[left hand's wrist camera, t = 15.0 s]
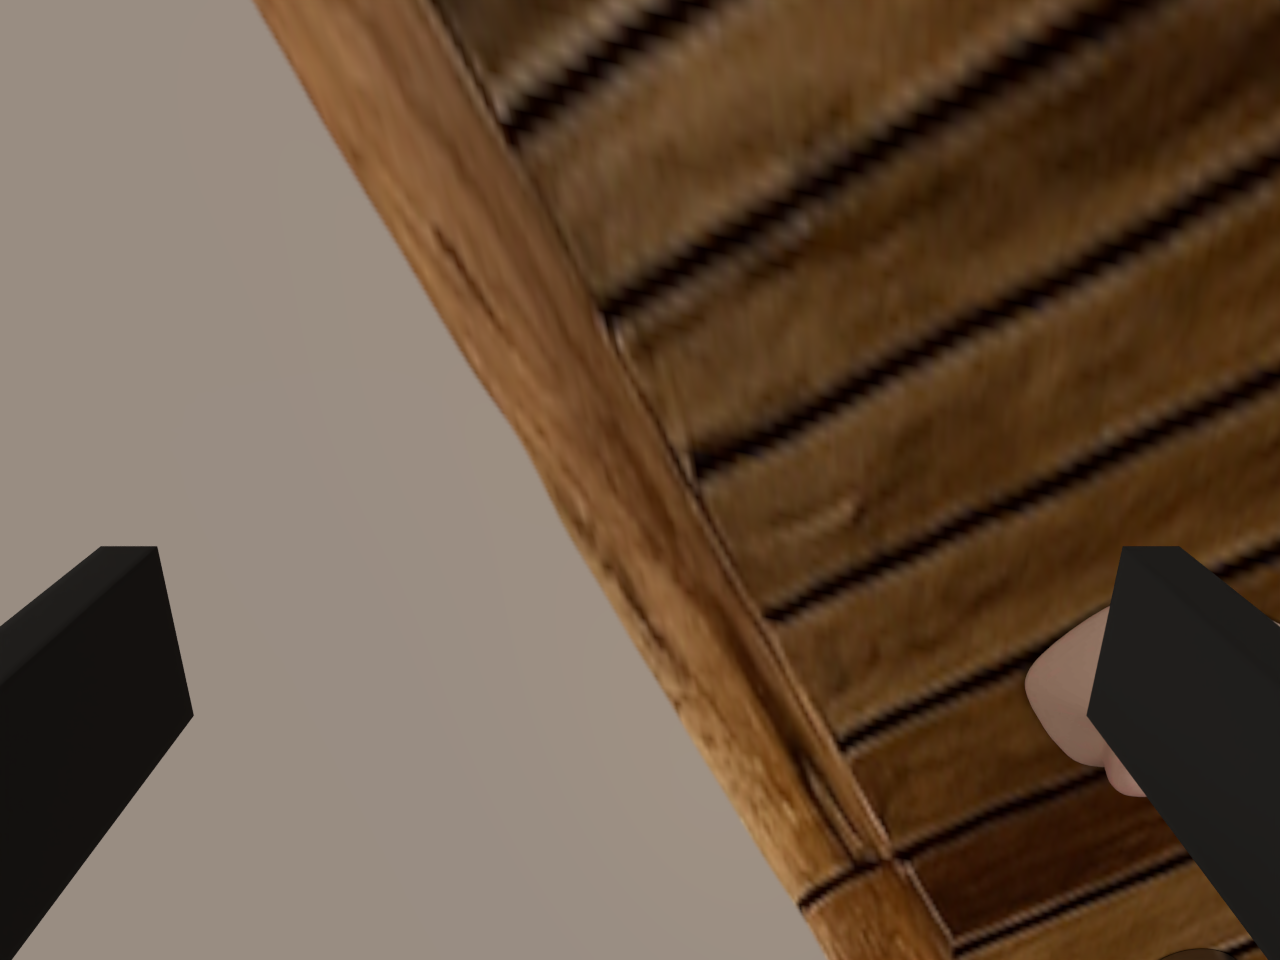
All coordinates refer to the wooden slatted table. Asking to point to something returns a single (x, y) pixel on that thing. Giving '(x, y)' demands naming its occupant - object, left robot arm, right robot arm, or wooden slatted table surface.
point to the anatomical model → (1076, 699)
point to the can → (1199, 955)
